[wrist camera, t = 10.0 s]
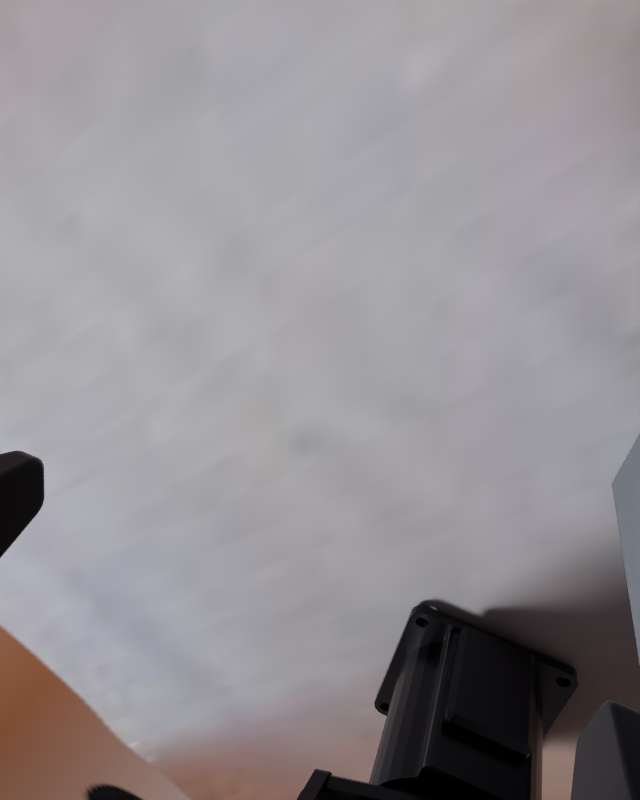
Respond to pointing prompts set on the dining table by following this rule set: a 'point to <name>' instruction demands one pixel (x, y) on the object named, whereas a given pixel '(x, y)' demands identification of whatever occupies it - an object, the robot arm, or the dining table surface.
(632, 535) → the cabinet
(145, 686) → the dining table surface
